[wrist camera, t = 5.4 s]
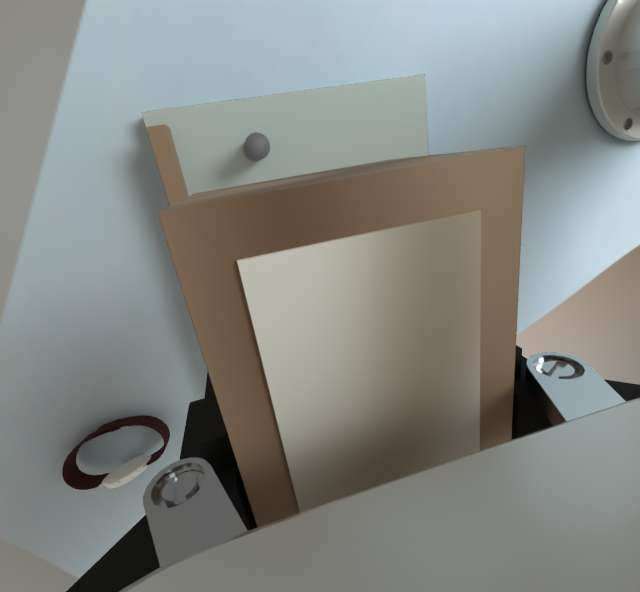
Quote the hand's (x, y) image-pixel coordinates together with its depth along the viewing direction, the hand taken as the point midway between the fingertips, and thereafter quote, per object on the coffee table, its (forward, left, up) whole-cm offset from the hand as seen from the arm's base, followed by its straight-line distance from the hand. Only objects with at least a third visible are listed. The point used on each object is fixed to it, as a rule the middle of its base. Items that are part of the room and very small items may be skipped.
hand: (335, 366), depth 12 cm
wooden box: (0, 0, -1) cm, 1 cm away
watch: (+15, +12, -16) cm, 25 cm away
